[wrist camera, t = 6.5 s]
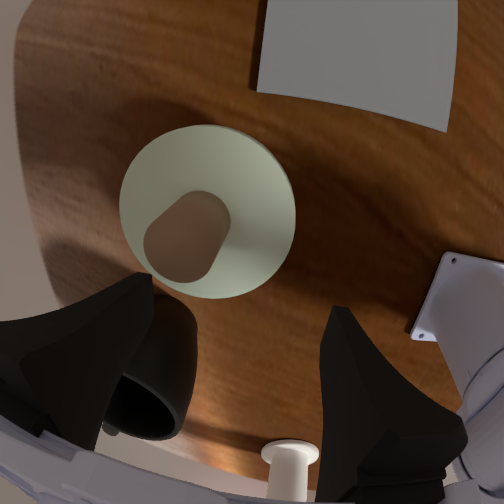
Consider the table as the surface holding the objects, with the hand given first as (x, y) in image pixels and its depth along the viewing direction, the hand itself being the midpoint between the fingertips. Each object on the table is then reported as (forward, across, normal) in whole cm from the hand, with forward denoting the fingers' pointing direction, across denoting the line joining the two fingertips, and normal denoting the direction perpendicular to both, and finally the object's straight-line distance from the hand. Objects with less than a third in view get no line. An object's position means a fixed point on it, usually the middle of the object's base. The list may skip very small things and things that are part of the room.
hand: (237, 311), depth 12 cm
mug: (+10, +8, +12) cm, 17 cm away
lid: (+6, +3, -2) cm, 6 cm away
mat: (+10, -5, -13) cm, 17 cm away
